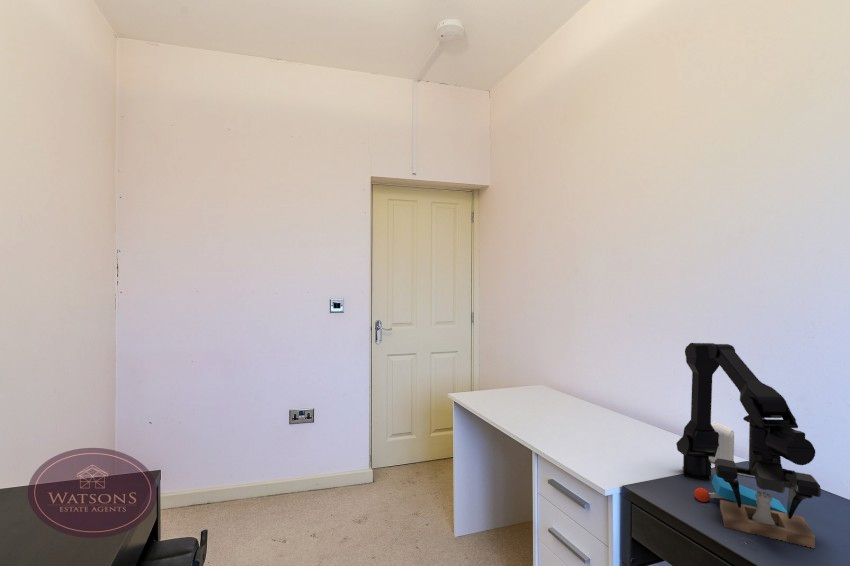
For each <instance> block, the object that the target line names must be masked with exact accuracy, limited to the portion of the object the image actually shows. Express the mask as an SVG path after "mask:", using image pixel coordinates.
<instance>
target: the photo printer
mask: <svg viewBox="0 0 850 566" xmlns="http://www.w3.org/2000/svg"><path fill="white" fill-rule="evenodd" d="M711 425H712V427H713V428H714V430H715V431H716V432H718V434H719V439H718V442H719V446H718V449H717V452H716V455H715V457H709V459H710V461H711V463H714V464H715V460H716V459H718V458H719V459H724V460H730V461H734V462H735V460H734V459H735V456H734V455H735V431H734V430H733V429H732V428H731V427H729V426H726V425H724V424H721V423H718V422H714V421H711Z"/></svg>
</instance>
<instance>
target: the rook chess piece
mask: <svg viewBox="0 0 850 566" xmlns="http://www.w3.org/2000/svg"><path fill="white" fill-rule="evenodd" d="M756 492H757V493H756V494H755V497H756V498H757V501H756V503H757V509H756V513H755V514H754V515H753V516H752V518H751V520H753V521H757V522H762V523H766V524H770V525H775V526H776V524H775V522H774V521H773V519H772V517H771V512H770V507H771V505H770V502H771V501H772V500H773V499H772V498H773V497H772V496H771V493H770V492H767V491H765V490H763V492H762V491H761V490H756Z"/></svg>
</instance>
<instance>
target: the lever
mask: <svg viewBox="0 0 850 566" xmlns="http://www.w3.org/2000/svg"><path fill="white" fill-rule="evenodd" d="M711 485H712V487H713V489H714V490H715V492H709V491H708V490H707V489H705V488H703V487H698V488H696V489H695V490H694V491H693V492H694V497H695V499H696V500H697V501H699V502H701V503H707V502H708V501H710V498H711V499H724V500H726V499H727V500H728V501H731V502H736V503H737V501H736V498H735V495H734V492H733V490H732V488H731V486H730V484H729V483H728V482H725V481H724V480H723V478H720V477H717V474H714V475H713V478H712V479H711ZM739 491H740V498H741V504H745V505H750V506H754V507H757V503H756V501H757V498H756V497H755V494H756V493H757V490H754V489H751V488H749V487H746V486H744V485H741V484H739ZM771 498H772V499H773V500H772V501H771V502H770V505H771V507H770V510H773V511H778V512H782V513H787V508H785V507H784V505H783V504H782V502H781V501H780V500H779V499H776V498H774V497H771Z"/></svg>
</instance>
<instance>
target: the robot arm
mask: <svg viewBox="0 0 850 566" xmlns="http://www.w3.org/2000/svg"><path fill="white" fill-rule="evenodd" d="M735 349H736V348H735V346H734V345H733V344H728V343H714V342H690V343H689V344H688V345H686V347H685V349H684V355H685V362H686V364H687V365H688V367H689V369H690V371H691V372H692V374H691V402H690V404H691V405H690V408H691V409H690V420H688V422H687V424H686V425H684V429H683V435H682V436H681V438H679V440H677V441H676V450H677V452H678V453H680V454H681V455H683V456H682V459H683V461H682V474H683V475H682V476H684V477H689V478H693V479H700V480H704V481H707V482H708V481H711V480H710V479H711V478H710V477H712V462H711V461H710V459H709V457H715V455H716V452H717V449H718V446H719V442H718V439H719V434H718V432H716V431H715V430H714V428H713V427H712V425H711V422H712V401H713V400H712V399H713V398H712V397H713V396H712V395H713V376H714V374H715V372H716V371H717V370H718V368H719V367H721V369H722V371H724V373H725V374H726V375H727V377H728V378H729V380H730V381H731V383H733V385H734V386H735V387H736V388H737V390H738V391H739V393H740V394H739V401H740V404H741V405H742V407H743V408H744V410H745V412H746V414H748V415H746V416H744V417H743V421H745V422H747V423H749V425H748V426H749V427H748V428H749V430H748V431H749V432H748V435H749V436H748V437H749V438H748V468H747V467H741V466H737V465H736V462H735V460H734V461H730V460H724V459H719V458H718V459H716V460H715V463H714V470H715V475H717V477H720V478H723V480H724V481H725V482H728V483H729V484H730V486H731V488H732V490H733V492H734V495H735V498H736V501H737V504H738V507H739V508H741V498H740V491H739V485H740V482H739V479H738V476H741V477H746V478H751V479H755V482H756V486H757V487H758V489H760V490H763V491H767V490H769V491H773V492H776V493H778V494H784V493H785V492H786V491H785V490H786V488H787V489H788V492H787V502H786V503H787V505H786V511H787V516H788V518H789V519H791V518H792V516H793V515H795V513H796V510H797V508H798V506H799V505H800V504H801V503H802V501H803V500H806V499H810V500H811V499H813V497H815V498H820V497H822V496H821V495H822V492H821V491H822V488H821V485H820V484H819V482H818V481H817V479H815V477H814V476H813V475H812V474H809V473H803V472H797V471H795V470H791V469H786V468H783V465H782V460H781V457H782V458H783V459H785V460H787V461H789V462H791V463H793V464H795V465H798V466H805V465H808V464H810V463H811V462H813V460H814V458H815V456H816V448H814V445H813V443H812V442H811V441H810V440H808V439H807V438H806V433H805V432H803V431H801V430H797V429H798V428H799V425H798V423H797V419H796V417H795V416H794V415H793V413H792V411H791V409H790V406H789V405H788V404H787V400H786V399H785V397H784V396H783V395H781V394H780V393H779V392H778V391H777V390H776V389H775V388H773V387H772V386H770V385H768V384H766V383H763V382H762V381H761V380H759V378H758V377H757V376H756V375H755V374H754V372H753V371H752V370H751V369H750V368H749V366H747V364H746V363H745V362H744V360H742V358H741V357H740V356H739V355H738V353H736V350H735Z"/></svg>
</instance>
